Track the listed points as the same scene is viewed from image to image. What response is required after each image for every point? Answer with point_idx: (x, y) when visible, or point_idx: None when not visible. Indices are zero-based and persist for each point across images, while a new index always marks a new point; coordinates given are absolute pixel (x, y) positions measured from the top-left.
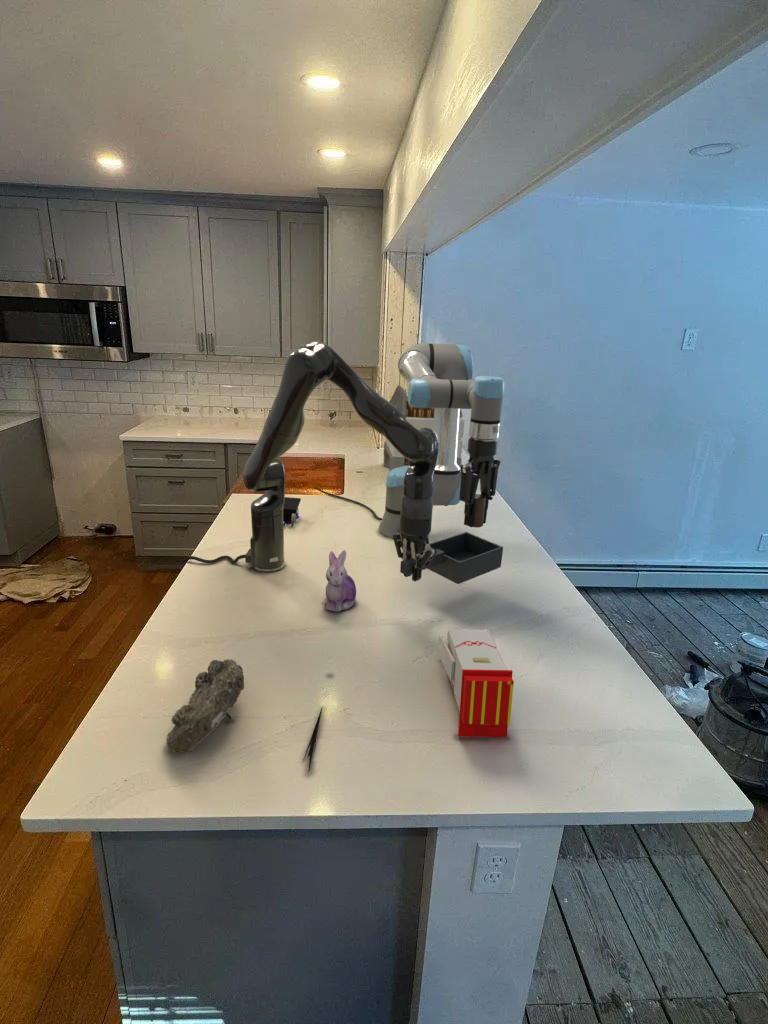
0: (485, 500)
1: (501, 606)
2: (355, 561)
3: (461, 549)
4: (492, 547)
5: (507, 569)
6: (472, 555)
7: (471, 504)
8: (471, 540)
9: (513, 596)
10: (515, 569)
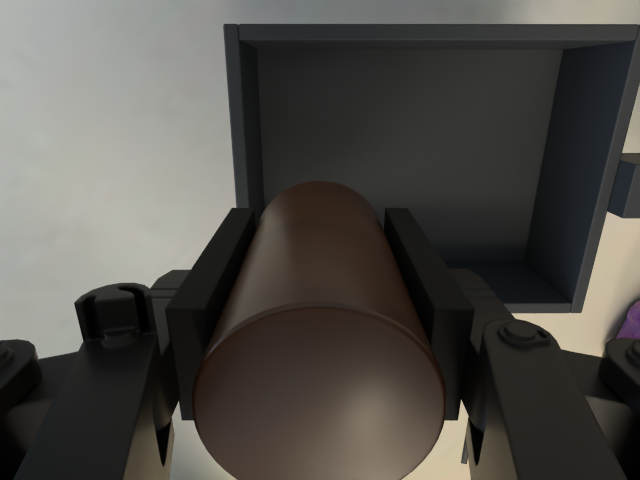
0: (263, 290)
1: (292, 2)
2: (432, 468)
3: None
4: (247, 104)
5: (53, 188)
6: None
7: (474, 330)
8: None
9: (192, 26)
10: (24, 170)
